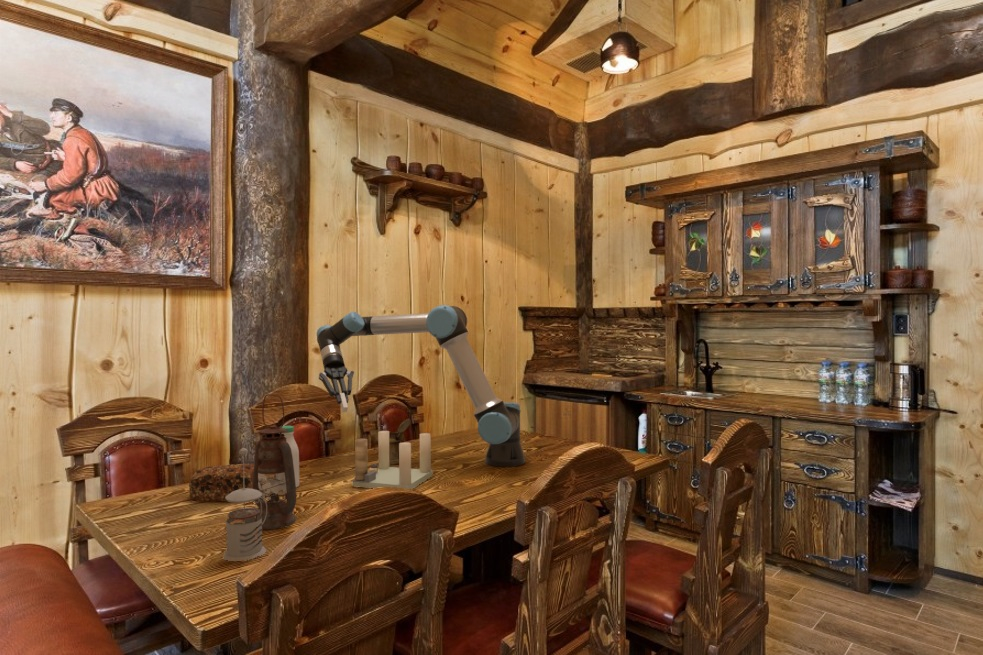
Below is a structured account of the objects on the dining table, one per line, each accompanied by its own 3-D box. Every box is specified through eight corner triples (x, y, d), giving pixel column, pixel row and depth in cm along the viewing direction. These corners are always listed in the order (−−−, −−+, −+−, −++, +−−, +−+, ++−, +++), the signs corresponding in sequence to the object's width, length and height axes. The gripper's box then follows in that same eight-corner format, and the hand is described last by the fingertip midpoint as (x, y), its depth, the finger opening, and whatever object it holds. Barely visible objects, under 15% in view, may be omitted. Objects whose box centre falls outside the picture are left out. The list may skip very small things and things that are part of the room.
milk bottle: (304, 485, 197) (303, 425, 196) (287, 491, 190) (286, 429, 189) (286, 482, 200) (286, 423, 199) (269, 488, 193) (268, 427, 192)
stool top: (432, 475, 207) (432, 433, 207) (407, 492, 188) (407, 445, 187) (380, 471, 213) (379, 430, 213) (350, 487, 194) (349, 441, 194)
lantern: (277, 534, 152) (276, 398, 151) (237, 523, 160) (236, 394, 160) (310, 521, 161) (309, 393, 161) (271, 511, 170) (269, 390, 169)
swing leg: (370, 470, 206) (370, 433, 205) (381, 471, 204) (380, 434, 204) (353, 479, 194) (352, 440, 194) (363, 480, 193) (363, 441, 193)
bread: (262, 492, 190) (262, 461, 189) (249, 502, 179) (248, 469, 179) (204, 492, 190) (204, 461, 189) (187, 502, 179) (187, 470, 179)
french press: (212, 558, 137) (210, 451, 136) (249, 540, 148) (248, 441, 147) (245, 564, 133) (244, 454, 133) (280, 545, 144) (279, 443, 144)
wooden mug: (401, 468, 219) (401, 419, 218) (374, 463, 226) (373, 416, 225) (416, 462, 226) (416, 416, 226) (389, 458, 233) (389, 413, 233)
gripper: (348, 365, 227) (361, 414, 213) (313, 367, 221) (324, 418, 206) (351, 352, 222) (365, 401, 208) (316, 353, 216) (327, 404, 202)
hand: (345, 409), depth 207 cm, fingers closed
